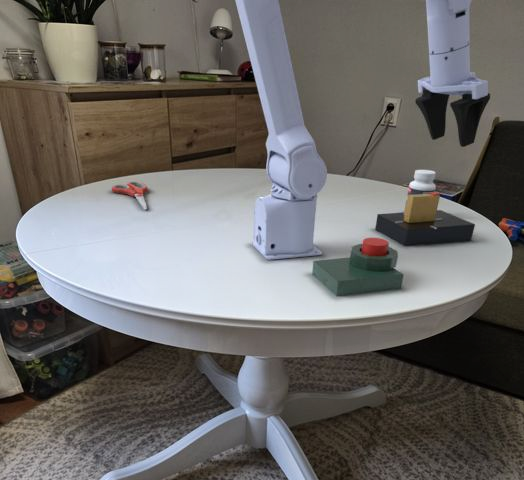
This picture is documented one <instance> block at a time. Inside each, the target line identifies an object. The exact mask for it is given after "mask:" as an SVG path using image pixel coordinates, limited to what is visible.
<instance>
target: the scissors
mask: <svg viewBox="0 0 524 480" xmlns="http://www.w3.org/2000/svg"><path fill="white" fill-rule="evenodd" d="M148 190H149V187H148V186H147V185H146V184H145V183H144V182H141V181H129V182H127V183H126V184H115V185H112V186H111V191H112V192H113V193H116V194H121V195H122V194H124V195H128V196H130V197H131V198H133V199H134V198H135V199H136V201H137V202H138V204H139V205H140V206H141V208H142V209H143V210H144V211H147V210H148V206H147V202H146V200H145V197H144V195H145V193H147V192H148Z"/></svg>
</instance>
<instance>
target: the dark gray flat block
mask: <svg viewBox="0 0 524 480" xmlns="http://www.w3.org/2000/svg"><path fill="white" fill-rule="evenodd" d="M404 216H405V212H404V211H403V212H389V213H377V216H376V221H375V227H374V230H375V231H376V232H378V233H380V234H382V235H384V236H385V237H387V238H389V239H391V240H393V241H394V242H396V243H397V244H399V245H402V246H403V247H412V246H413V247H414V246H425V245H426V246H427V245H438V244H448V243H449V244H450V243H459V242H469V241H470V242H471V241H472V238H473V234H474V231H475V228H476V224H475V223H473V222H471V221H468V220H465V219H463V218H461V217H458V216H456V215H453V214H452V213H449V212H446V211H444V210H442V209H437V212H436V217H435V221H429V222H415V223H408V222H406V221H404Z"/></svg>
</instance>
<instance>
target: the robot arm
mask: <svg viewBox="0 0 524 480" xmlns="http://www.w3.org/2000/svg"><path fill="white" fill-rule="evenodd" d="M234 1H235V5H236V9H237V12H238V17H239V20H240V21H239V22H240V25H241V29H242V34H243V37H244V40H245V44H246V48H247V52H248V56H249V60H250V64H251V69H252V73H253V76H254V81H255V84H256V87H257V92H258V96H259V99H260V104H261V108H262V112H263V116H264V120H265V123H266V127H267V131H268V135H267V138H266V142H265V148H266V152H267V159H266V163H265V164H266V166H265V169H266V175H267V177H268V178H269V180H270V181H271V183H272V185H271V189H270V194H268V195H265V196H260V197H257V198H256V199H255V203H254V212H253V214H254V215H253V241H252V246H253V247H254V248H255V249H256V250H257V251H258V252H259V253H260V254H261V255H262V256H263V258H265V259H266V260H267V261H268V260H269V261H271V260H280V259H281V260H282V259H283V260H284V259H293V258H304V257H305V258H306V257H315V256H316V257H317V256H323V251H321V250H320V249H319V248H318V247H316V246H315V245H314V238H315V235H314V234H315V225H316V213H317V212H316V211H317V200H318V194H319V193H320V192H321V191H322V190H323V188H324V187H325V184H326V182H327V178H328V170H327V165H326V163H325V162H324V160H323V159H322V157H321V156H320V155H319V153H318V150H317V145H316V142H315V139H313V137H312V135H311V133H310V132H309V131H308V129H307V127H306V125H305V121H304V116H303V111H302V107H301V102H300V97H299V92H298V87H297V83H296V77H295V73H294V69H293V63H292V59H291V54H290V50H289V44H288V40H287V36H286V31H285V25H284V21H283V16H282V12H281V6H280V2H279V0H234ZM424 1H425V6H426V23H427V40H428V41H427V42H428V58H429V59H428V60H429V75H430V76H426V77H423V78H421V79H418V80H417V90H418V91H417V92H418V93H419V94H421V96H420V97H417V98H415V99H414V101H415V104H416V106H417V107H418V109H419V110H420V112H421V113H422V114H421V115H422V116H423V117H424V120H425V123H426V126H427V130H428V132H429V135H430V138H431V140H433V141H435V140H438V139H440V138H443V137H444V136H445V133H446V124H447V123H446V122H447V118H446V117H447V108H448V102H449V100H450V99H449V98H450V95H451V96H460V97H461V98H460V99H457V100H454V101H452V102H450V103H449V106H450V108H451V110H452V112H453V114H454V117H455V121H456V125H457V134H458V135H457V136H458V141H459V145H460V147H462V148H464V147H467V146H470V145H472V144H474V143H475V140H476V136H477V132H478V128H479V124H480V122H481V118H482V116H483V113H484V111H485V109H486V107H487V105H488V103H489V102H490V100H491V93H490V92H489V81H488V80H484V79H481V78H478V77H476V72H474V71H472V72H471V56H470V55H471V46H470V45H471V44H470V43H471V39H470V38H471V36H470V31H471V30H470V7H471V3H472V2H473V0H422V2H424Z"/></svg>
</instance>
